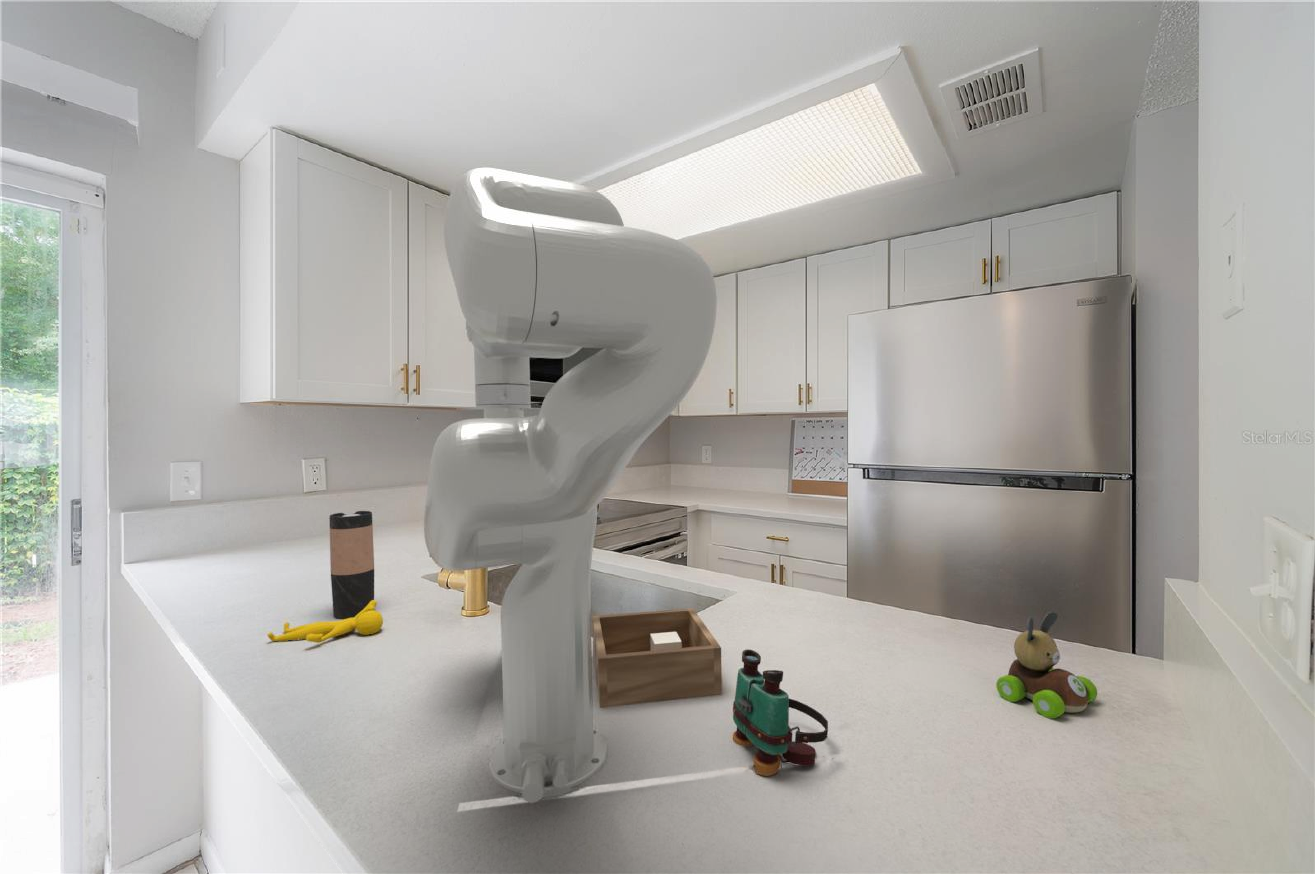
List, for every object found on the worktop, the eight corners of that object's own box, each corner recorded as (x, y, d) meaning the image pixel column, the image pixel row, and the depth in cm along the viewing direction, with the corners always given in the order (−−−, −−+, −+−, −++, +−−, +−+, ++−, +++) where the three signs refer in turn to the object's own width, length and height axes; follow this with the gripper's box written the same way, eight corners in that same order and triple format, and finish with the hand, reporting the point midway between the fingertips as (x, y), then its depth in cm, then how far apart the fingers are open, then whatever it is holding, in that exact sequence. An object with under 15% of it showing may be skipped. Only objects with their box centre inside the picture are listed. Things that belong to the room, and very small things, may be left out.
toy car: (1063, 726, 65) (1063, 632, 65) (989, 694, 73) (989, 610, 72) (1104, 707, 69) (1104, 619, 69) (1030, 678, 77) (1030, 599, 77)
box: (722, 700, 72) (721, 647, 72) (600, 713, 70) (598, 658, 69) (693, 651, 88) (692, 608, 88) (593, 660, 85) (592, 616, 85)
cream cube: (682, 669, 80) (681, 641, 80) (655, 671, 79) (654, 644, 79) (676, 657, 84) (676, 631, 84) (650, 660, 83) (650, 633, 83)
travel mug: (356, 620, 106) (353, 517, 105) (322, 618, 107) (319, 516, 107) (384, 607, 113) (381, 510, 113) (351, 606, 115) (348, 510, 114)
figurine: (296, 609, 104) (394, 596, 106) (299, 633, 104) (397, 619, 106) (250, 637, 91) (363, 621, 92) (254, 664, 91) (366, 647, 93)
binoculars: (845, 672, 58) (764, 679, 55) (838, 771, 58) (756, 785, 55) (796, 641, 67) (723, 646, 63) (789, 728, 67) (716, 738, 63)
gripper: (526, 395, 70) (530, 538, 70) (533, 401, 86) (536, 518, 87) (465, 396, 69) (469, 542, 69) (484, 402, 85) (487, 520, 85)
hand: (506, 527), depth 78 cm, fingers closed on lid, 3 cm apart
